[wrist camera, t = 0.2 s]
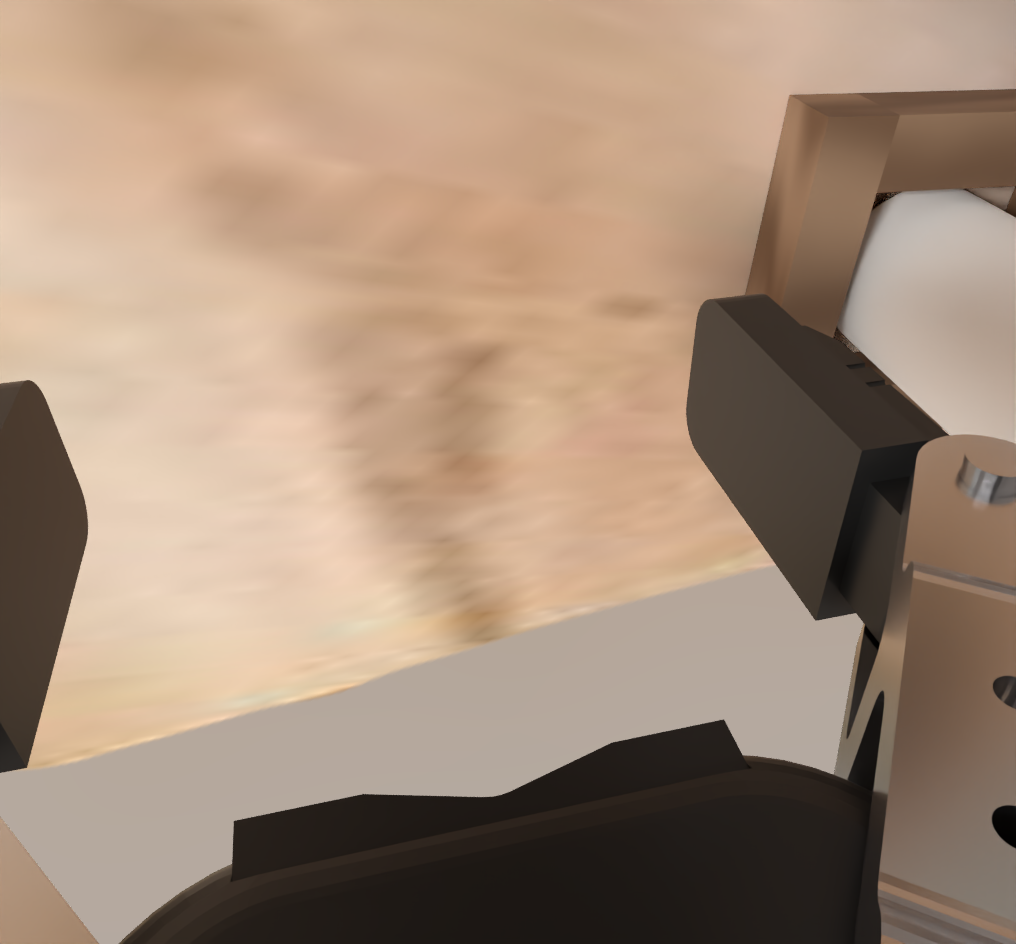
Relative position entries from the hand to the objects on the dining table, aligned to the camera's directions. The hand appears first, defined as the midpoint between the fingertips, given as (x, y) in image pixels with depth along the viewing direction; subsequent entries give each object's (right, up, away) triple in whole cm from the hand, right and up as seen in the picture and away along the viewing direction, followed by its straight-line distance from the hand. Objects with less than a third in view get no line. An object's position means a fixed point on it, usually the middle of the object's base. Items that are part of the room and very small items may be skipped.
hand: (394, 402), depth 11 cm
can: (+16, +7, +22) cm, 28 cm away
